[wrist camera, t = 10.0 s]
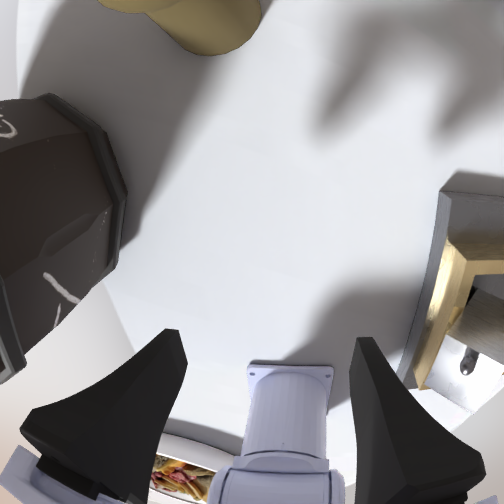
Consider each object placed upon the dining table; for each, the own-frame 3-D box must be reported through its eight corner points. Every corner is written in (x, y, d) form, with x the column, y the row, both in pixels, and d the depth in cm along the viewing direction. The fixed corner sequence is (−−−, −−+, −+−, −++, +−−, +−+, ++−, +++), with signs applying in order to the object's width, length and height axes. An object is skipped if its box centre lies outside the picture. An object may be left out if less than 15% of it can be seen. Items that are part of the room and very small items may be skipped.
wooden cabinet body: (494, 360, 23) (508, 389, 19) (395, 375, 25) (403, 411, 21) (549, 203, 15) (580, 223, 11) (439, 190, 17) (470, 212, 13)
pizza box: (265, 436, 33) (256, 487, 26) (278, 495, 46) (273, 526, 39) (84, 403, 39) (64, 438, 32) (149, 475, 52) (139, 500, 45)
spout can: (502, 356, 16) (464, 430, 12) (461, 334, 20) (412, 397, 16) (525, 309, 14) (499, 382, 10) (478, 286, 18) (435, 346, 13)
